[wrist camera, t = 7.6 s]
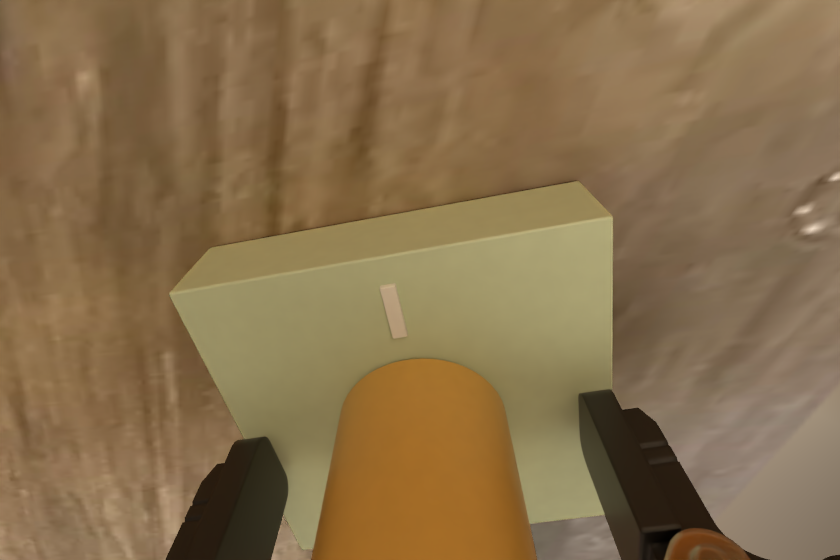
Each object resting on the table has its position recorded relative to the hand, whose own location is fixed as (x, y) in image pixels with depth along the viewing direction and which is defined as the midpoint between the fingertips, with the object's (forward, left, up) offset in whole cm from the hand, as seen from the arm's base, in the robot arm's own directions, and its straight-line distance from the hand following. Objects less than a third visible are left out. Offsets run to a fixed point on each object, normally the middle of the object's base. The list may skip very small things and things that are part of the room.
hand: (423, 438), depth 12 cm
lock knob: (0, 0, -1) cm, 1 cm away
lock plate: (0, 0, -3) cm, 3 cm away
